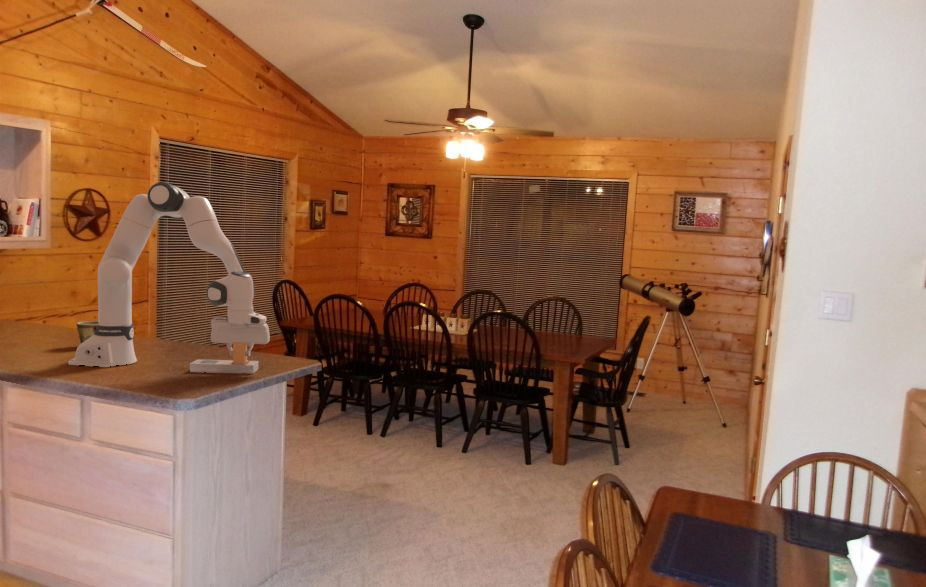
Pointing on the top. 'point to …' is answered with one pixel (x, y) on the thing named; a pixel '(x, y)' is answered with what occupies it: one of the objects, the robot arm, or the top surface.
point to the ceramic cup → (86, 329)
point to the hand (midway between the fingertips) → (240, 355)
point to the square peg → (239, 353)
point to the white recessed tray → (223, 366)
